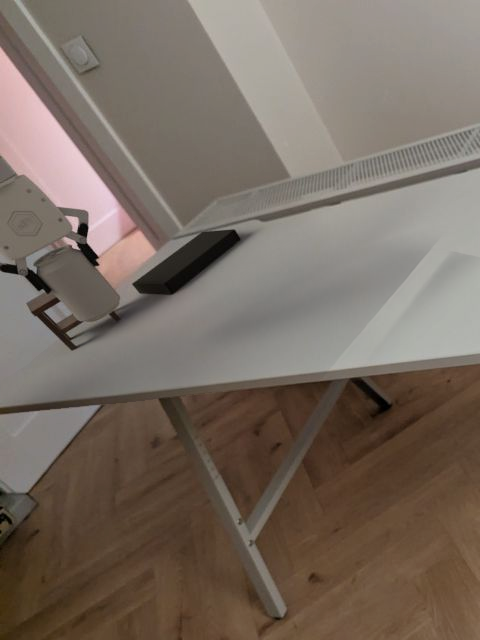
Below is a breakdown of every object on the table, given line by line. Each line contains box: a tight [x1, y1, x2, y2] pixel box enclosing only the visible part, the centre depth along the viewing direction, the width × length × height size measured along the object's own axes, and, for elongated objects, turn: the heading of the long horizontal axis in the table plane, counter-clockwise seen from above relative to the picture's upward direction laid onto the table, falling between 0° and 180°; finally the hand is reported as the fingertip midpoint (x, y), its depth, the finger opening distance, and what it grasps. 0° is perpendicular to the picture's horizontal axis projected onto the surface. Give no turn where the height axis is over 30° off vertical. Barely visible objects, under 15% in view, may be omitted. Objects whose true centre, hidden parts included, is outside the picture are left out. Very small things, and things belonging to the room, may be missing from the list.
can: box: [33, 243, 121, 323], centre depth 91 cm, size 8×8×12 cm
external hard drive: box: [131, 228, 242, 296], centre depth 133 cm, size 14×23×3 cm, turn 153°
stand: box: [25, 291, 122, 351], centre depth 119 cm, size 12×9×11 cm
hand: (72, 277), depth 90 cm, fingers closed on can, 7 cm apart
